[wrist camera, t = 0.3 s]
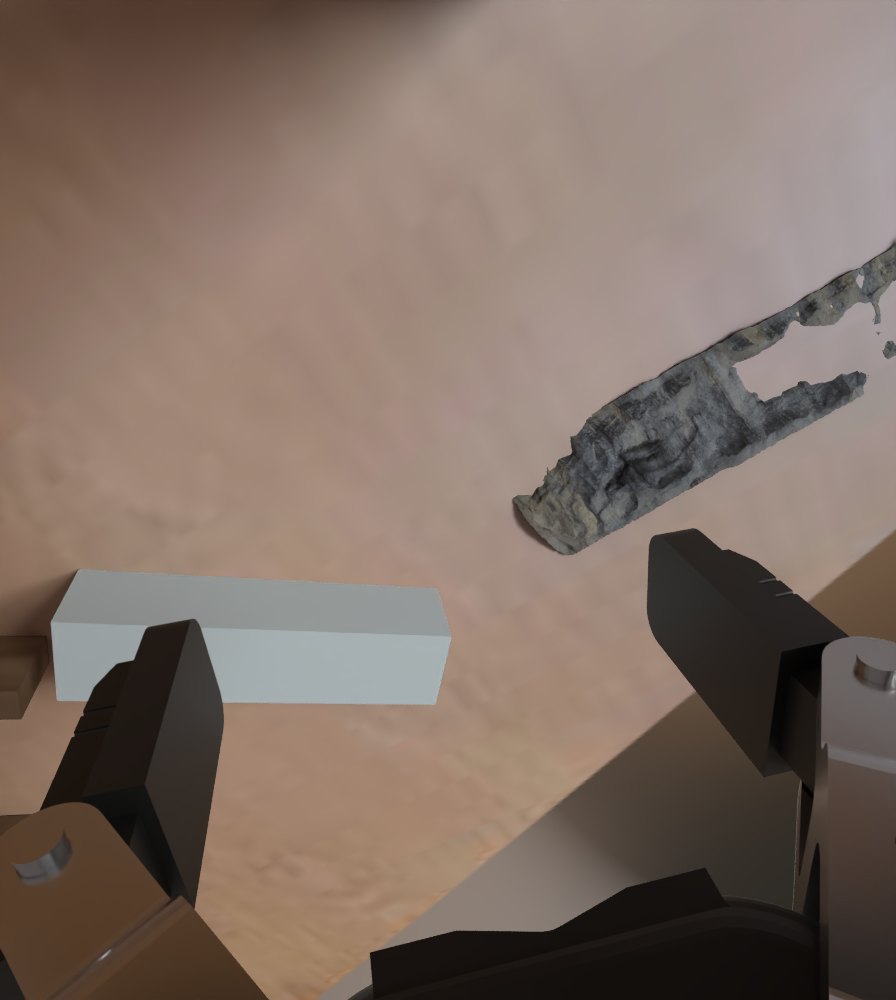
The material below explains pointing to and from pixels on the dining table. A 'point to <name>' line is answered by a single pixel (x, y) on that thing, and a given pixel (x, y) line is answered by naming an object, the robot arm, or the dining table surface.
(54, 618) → the white rectangular bar
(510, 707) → the dining table surface
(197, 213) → the dining table surface
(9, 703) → the end cap
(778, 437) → the grey flat forked piece
